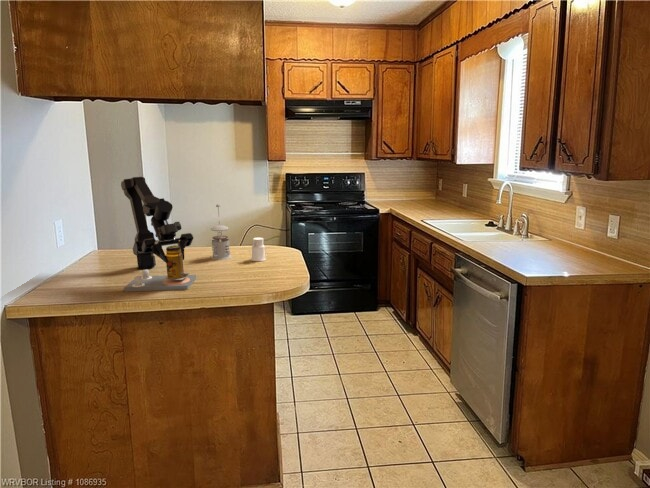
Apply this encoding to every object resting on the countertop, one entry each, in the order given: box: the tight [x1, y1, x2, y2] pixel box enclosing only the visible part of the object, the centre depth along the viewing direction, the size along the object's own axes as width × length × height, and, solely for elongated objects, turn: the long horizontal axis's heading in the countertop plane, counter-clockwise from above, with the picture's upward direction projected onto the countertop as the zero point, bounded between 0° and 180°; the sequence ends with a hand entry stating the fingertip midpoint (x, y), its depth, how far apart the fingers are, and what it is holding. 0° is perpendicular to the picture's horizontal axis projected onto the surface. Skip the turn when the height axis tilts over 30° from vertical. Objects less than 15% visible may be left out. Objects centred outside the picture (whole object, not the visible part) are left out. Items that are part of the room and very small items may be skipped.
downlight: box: [248, 237, 268, 262], centre depth 216 cm, size 8×7×10 cm
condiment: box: [165, 245, 190, 280], centre depth 181 cm, size 7×8×12 cm
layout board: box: [124, 269, 197, 292], centre depth 182 cm, size 23×14×5 cm, turn 93°
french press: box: [210, 203, 233, 261], centre depth 221 cm, size 10×12×25 cm
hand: (175, 260), depth 179 cm, fingers closed on condiment, 6 cm apart
